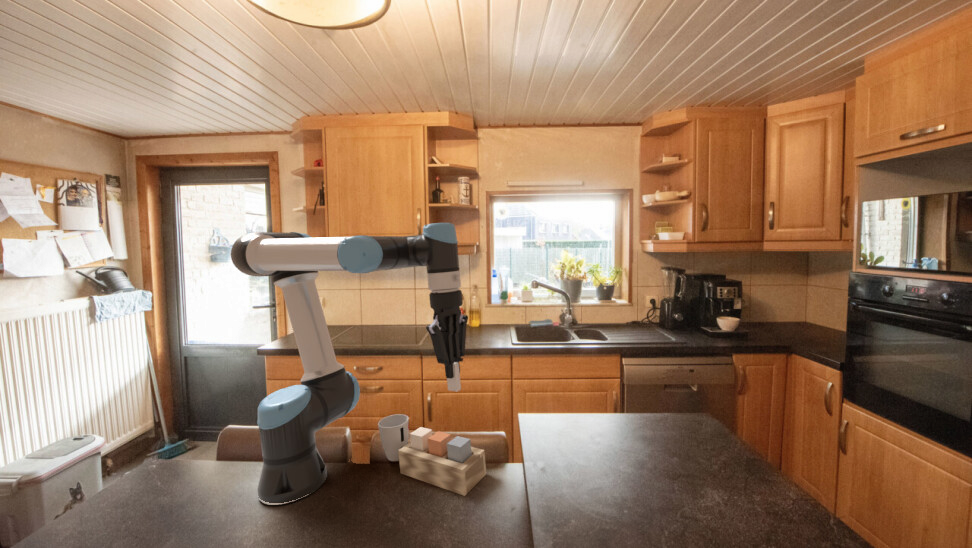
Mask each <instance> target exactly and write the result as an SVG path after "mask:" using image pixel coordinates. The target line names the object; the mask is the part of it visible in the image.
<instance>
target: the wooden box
mask: <svg viewBox="0 0 972 548" xmlns="http://www.w3.org/2000/svg"><path fill="white" fill-rule="evenodd" d="M471 451H472V456H470V457H469V458H468V459H467V460H466V461H465V462H464V463H458V462H455V461H452V460H448V453H447V454H446V455H445V456H443V457H442V458H441V457H438V456H435V455H431V454H429V448H428V449H427V450H425V451H424V452H421V451H418V450H414V449H411V441H410V442H408V444H407V445H405V446H404V447H402V448H401V449H399V450H398V453H399V460H398V462H399V469H400V472H399V473H400V475H404V476H407V477H410V478H413V479H415V480H418V481H421V482H425V483H427V484H430V485H433V486H434V487H435V486H436V487H439V488H441V489H444V490H446V491H449V492H452V493H455V494H458V495H461V496H463V497H465V496H466V495H468V493H469V492H470V491H471V490H472V489H473V488H474V487H475V486H476V485H477V484H478V483H479V482H480V481H481V480H482V479H483V478H484V477H485V476H486V475H487V466H486V453H485V449H482V448H479V447H475V446H471Z"/></svg>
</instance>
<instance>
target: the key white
mask: <svg viewBox="0 0 972 548" xmlns="http://www.w3.org/2000/svg"><path fill="white" fill-rule="evenodd" d="M432 435H434V434H433V429H431V428H426V427H422V426H420V427H418V428H417V429H415V430H414V431H412V432H409V441H410V442H411V449H414V450H418V451H421V452H424V451H425V450H427V449H428V448H429V447H428V438H429V437H431V436H432Z"/></svg>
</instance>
